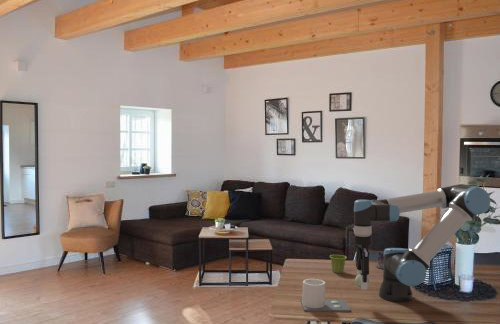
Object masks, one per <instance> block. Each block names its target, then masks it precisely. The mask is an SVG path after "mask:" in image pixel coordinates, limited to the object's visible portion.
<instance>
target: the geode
mask: <svg viewBox="0 0 500 324" xmlns="http://www.w3.org/2000/svg"><path fill="white" fill-rule="evenodd" d="M383 255H384V253H381V252H380V251H379V252H378V257H377V261H376V268H377V269H379V270H383V268H384V256H383Z"/></svg>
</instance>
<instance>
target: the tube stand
mask: <svg viewBox="0 0 500 324" xmlns="http://www.w3.org/2000/svg"><path fill="white" fill-rule="evenodd" d="M300 303H301V306H302V310H303V311H304V312H334V313H335V312H336V313H337V312H338V313H339V312H345V313H348V312H349V313H350V312H351V307H349V305H348V304H347V301H346V300H345V299H326V281H324V280H323V279H317V278H307V279H304V280H302V298H300Z"/></svg>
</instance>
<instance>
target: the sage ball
mask: <svg viewBox="0 0 500 324" xmlns="http://www.w3.org/2000/svg"><path fill="white" fill-rule="evenodd" d="M354 282H355V284H356V286H357V287H358V288H360V289H361V275H360V274H359V275H356V276H355V279H354ZM369 283H370V278H368V285H369Z"/></svg>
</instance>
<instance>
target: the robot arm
mask: <svg viewBox="0 0 500 324" xmlns="http://www.w3.org/2000/svg"><path fill="white" fill-rule="evenodd" d="M490 206H491V197H490V195H489V193H488V192H487V190H486V189H484V188H483V187H480V186H477V185H469V184H463V183H462V184H454V185H449V186H443V187H440V188H437V190H434V191H428V192H421V193H416V194H409V195H404V196H403V195H402V196H396V197H390V198H385V199H371V200H370V199H357V200H355V201H354V205H353V226H354V227H352V230H353V234H354V235H353V244H355V251H356V252H355V254H356V255H355V259H356V260H355V267H356V272H357V273H356V274H357V275H359V274H360V275H361V288H360V290H368V287H369V284H368V279H369V276H368V275H370V252H369V249H368V246H370V245H371V244H372V233H373V231H372V229H373V228H372V222H373V223H374V222H397V221H398V220H399V219H400V214H402V213H408V212H409V213H410V212H415V211H416V212H417V211H421V210H427V209H428V210H429V209H434V208H441V209H448V210H446V211H445V213H444V214H443V215H441V217H440V218H439V219H438V221H437V222H435V224H434V225H433V226H432V227H431V229H429V231H427V233H426V234H425V235H424V236H423V237H422V238H421V240H420V241H419V242H417V244H416V245H415V246H414V247H411V248H401V247H387V248H384V250H383V251H384V252H383V254H384V255H383V256H384V268H383V269H382V270H383V275H382V276H383V277H382V282H381V284H380V287H379V290H378V296H379V297H380V298H382V299H384V300H386V301H387V300H388V301H391V302H398V303H399V302H401V303H403V302H411V301H412V300H413V291H412V288H411V287H415V286H419V285H421V284H422V283H423V282H424V281H425V279H426V277H427V271H428V269H429V268H430V267H431V263H430V261H432V259H434V257H435V256H436V255H437V254H438V253H439V252H440V250H442V249H443V247H444V246H446V244H447V243H448V242H449V240H450V239H452V237H453V236H454V235H455V234H456V233H457V232H458V231H459V230H460V228H461V227H462V226H463V225H464V224H465V223H466V222H471V221H473V219H475V217H476V216H477V215H483V214H484V213H486V212H487V211H488V210H489V208H490ZM357 275H356V276H357Z"/></svg>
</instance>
